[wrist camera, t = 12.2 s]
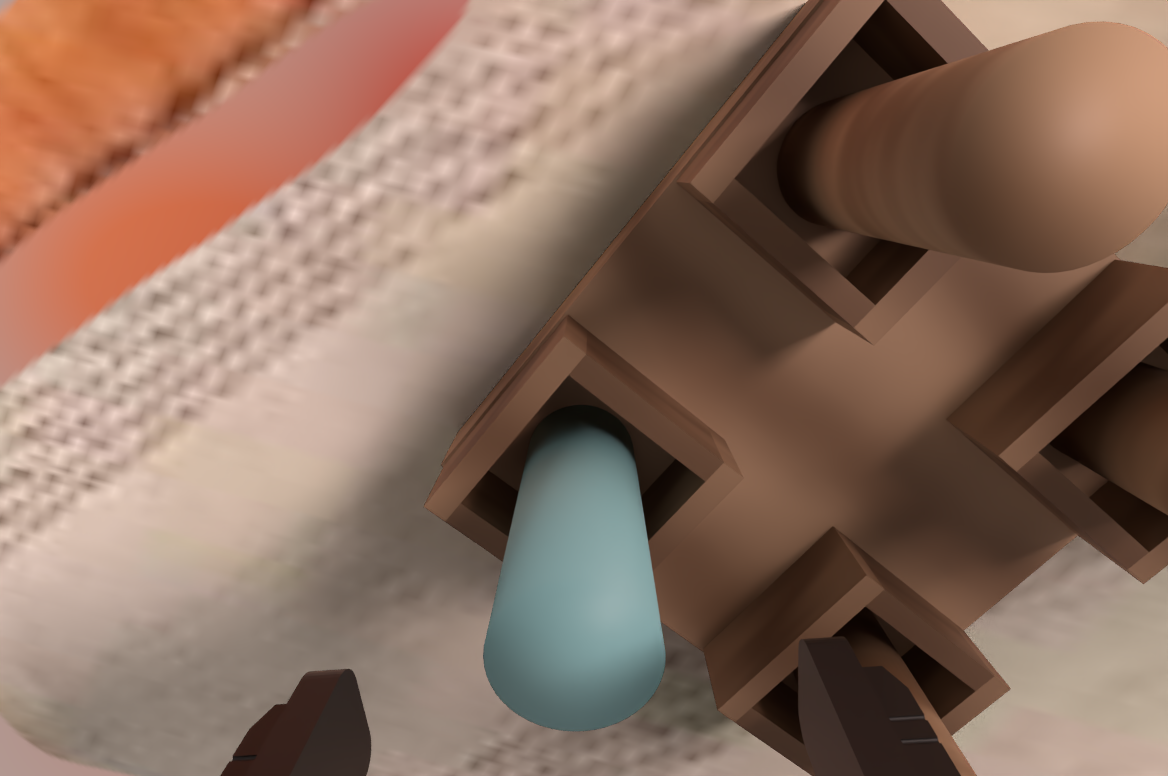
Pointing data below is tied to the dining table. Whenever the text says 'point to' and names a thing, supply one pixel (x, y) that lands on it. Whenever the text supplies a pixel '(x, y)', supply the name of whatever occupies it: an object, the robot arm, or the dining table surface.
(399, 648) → the dining table surface
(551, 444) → the loose leg
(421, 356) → the dining table surface
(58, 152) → the dining table surface
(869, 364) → the stool seat
